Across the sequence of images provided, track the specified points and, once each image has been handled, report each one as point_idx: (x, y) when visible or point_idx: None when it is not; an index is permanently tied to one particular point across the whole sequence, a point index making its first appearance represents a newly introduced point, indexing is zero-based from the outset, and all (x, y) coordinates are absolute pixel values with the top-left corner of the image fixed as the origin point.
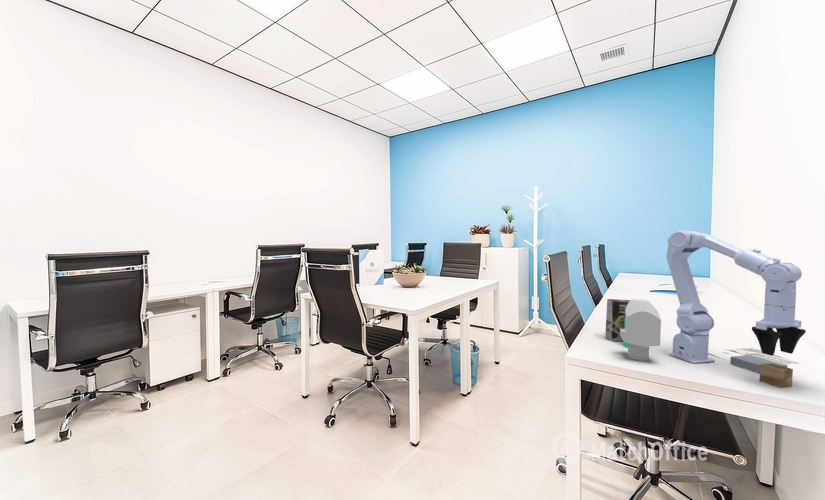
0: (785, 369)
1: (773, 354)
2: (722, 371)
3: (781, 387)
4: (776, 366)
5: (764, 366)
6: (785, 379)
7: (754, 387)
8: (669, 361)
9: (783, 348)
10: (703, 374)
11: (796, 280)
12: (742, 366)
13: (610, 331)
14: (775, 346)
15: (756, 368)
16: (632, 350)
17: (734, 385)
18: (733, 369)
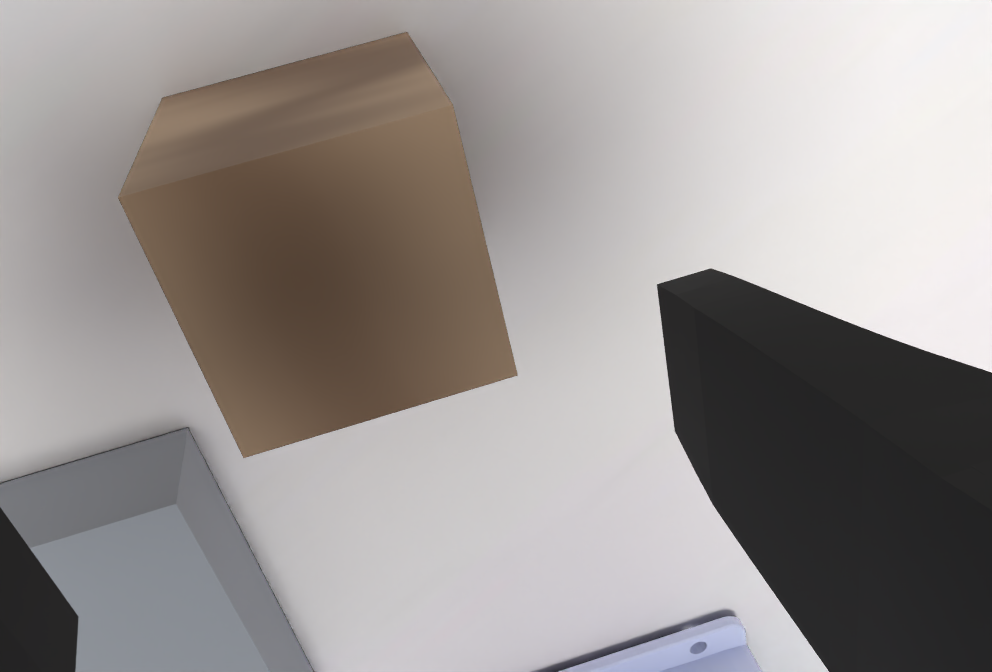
0: (310, 162)
1: (666, 290)
2: (632, 468)
3: (391, 36)
4: (329, 301)
5: (501, 317)
6: (316, 88)
7: (764, 29)
8: None
9: (33, 665)
10: (940, 355)
11: None
12: (276, 618)
13: None
14: (819, 372)
15: (223, 542)
16: None
17: (947, 77)
18: (434, 545)
